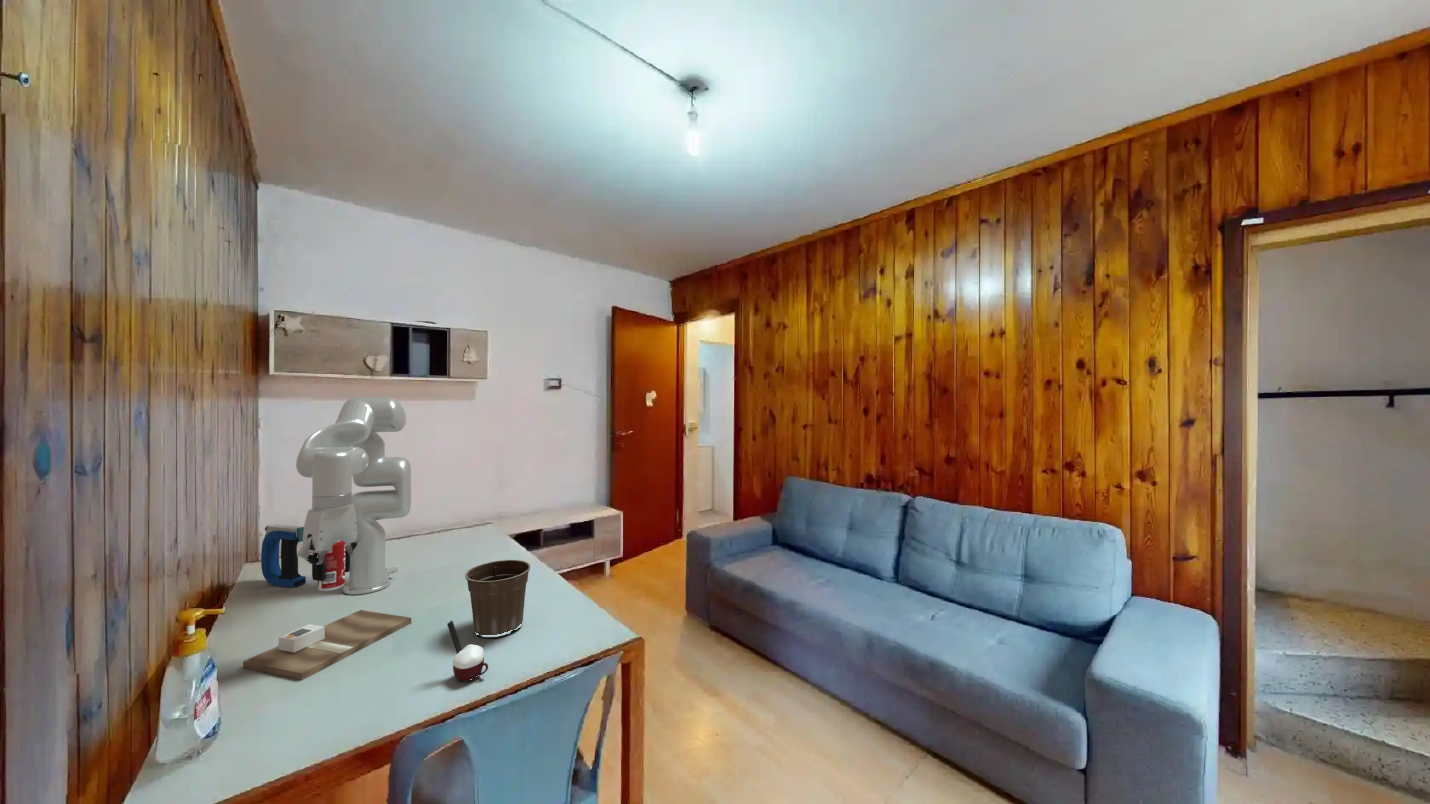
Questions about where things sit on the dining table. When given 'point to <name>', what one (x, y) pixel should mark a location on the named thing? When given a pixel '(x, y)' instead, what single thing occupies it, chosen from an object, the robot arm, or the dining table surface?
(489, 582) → the plant pot
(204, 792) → the dining table surface
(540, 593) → the dining table surface
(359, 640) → the board
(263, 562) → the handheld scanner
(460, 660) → the cocoa
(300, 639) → the block
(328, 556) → the soda can
